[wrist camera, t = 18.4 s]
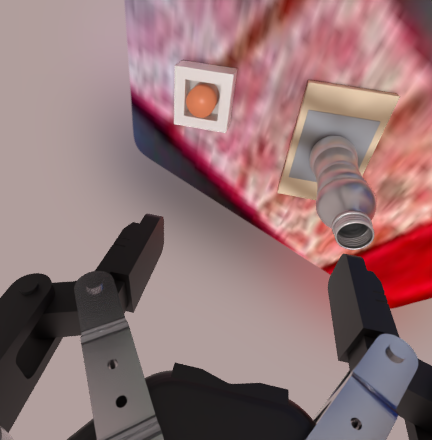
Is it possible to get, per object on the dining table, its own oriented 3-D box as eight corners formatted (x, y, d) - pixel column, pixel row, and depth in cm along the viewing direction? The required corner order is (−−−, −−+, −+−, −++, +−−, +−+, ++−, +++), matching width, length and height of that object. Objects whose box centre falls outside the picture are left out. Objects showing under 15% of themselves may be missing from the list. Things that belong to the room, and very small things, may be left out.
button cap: (193, 78, 43) (186, 85, 40) (220, 83, 42) (215, 90, 39) (192, 106, 45) (185, 115, 42) (217, 111, 45) (212, 119, 42)
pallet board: (308, 79, 41) (308, 82, 40) (396, 93, 40) (400, 97, 39) (277, 188, 52) (277, 193, 51) (346, 201, 51) (347, 206, 50)
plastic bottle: (324, 178, 48) (342, 269, 32) (299, 148, 45) (306, 229, 30) (362, 155, 44) (404, 243, 29) (337, 121, 42) (368, 197, 26)
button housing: (182, 60, 42) (174, 65, 39) (237, 68, 42) (233, 74, 39) (181, 115, 47) (173, 124, 44) (229, 123, 47) (226, 133, 44)
